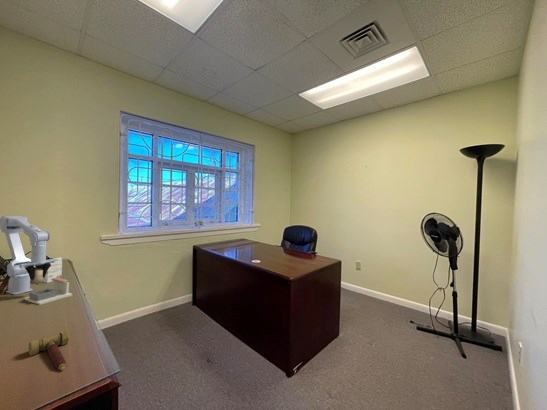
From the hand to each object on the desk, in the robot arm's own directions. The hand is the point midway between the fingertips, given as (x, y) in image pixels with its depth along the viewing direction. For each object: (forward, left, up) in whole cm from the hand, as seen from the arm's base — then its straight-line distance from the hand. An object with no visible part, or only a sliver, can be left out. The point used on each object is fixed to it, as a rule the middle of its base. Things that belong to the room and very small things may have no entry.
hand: (37, 278), depth 128 cm
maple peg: (0, 0, -2) cm, 3 cm away
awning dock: (+8, +1, -9) cm, 13 cm away
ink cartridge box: (-23, +17, -10) cm, 30 cm away
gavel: (+69, -26, -10) cm, 75 cm away
